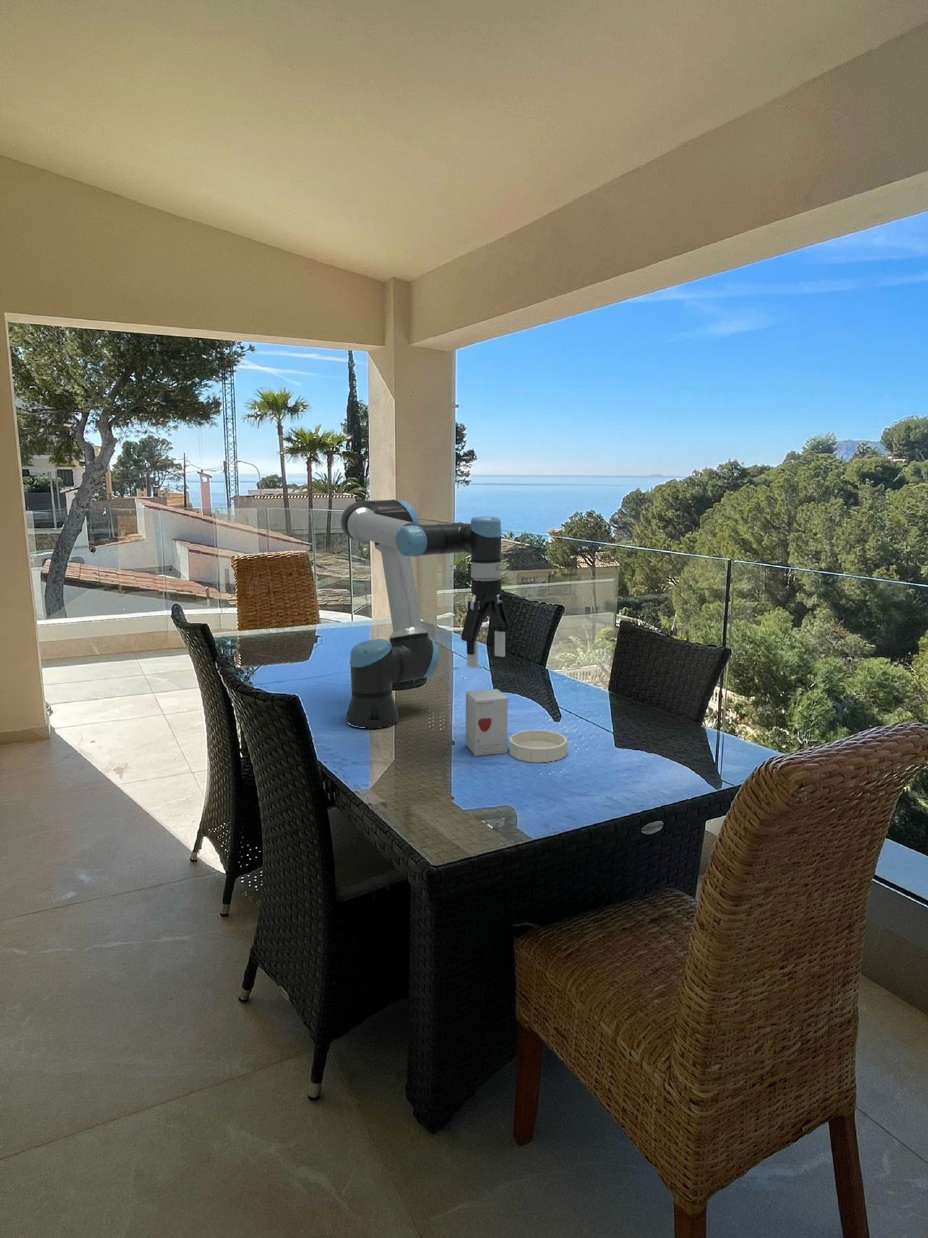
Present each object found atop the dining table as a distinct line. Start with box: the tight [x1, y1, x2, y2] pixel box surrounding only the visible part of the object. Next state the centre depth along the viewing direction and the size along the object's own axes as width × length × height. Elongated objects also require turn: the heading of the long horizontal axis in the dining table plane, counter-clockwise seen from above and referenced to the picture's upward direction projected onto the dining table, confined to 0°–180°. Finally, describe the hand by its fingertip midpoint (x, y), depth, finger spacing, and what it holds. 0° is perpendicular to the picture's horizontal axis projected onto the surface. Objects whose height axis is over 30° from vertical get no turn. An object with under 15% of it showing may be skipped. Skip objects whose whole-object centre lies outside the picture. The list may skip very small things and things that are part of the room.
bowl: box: [508, 729, 568, 763], centre depth 198 cm, size 15×15×4 cm
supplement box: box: [465, 688, 509, 757], centre depth 200 cm, size 9×9×15 cm
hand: (486, 661), depth 197 cm, fingers open, 13 cm apart
